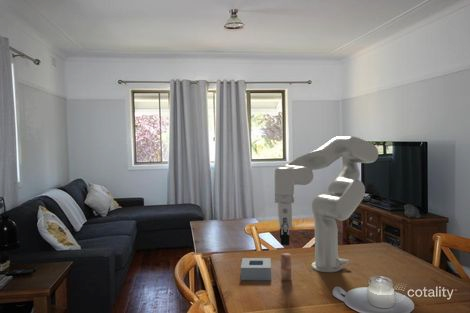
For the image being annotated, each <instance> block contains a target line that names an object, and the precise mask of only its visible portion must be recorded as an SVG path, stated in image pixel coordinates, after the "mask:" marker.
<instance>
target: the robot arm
mask: <svg viewBox="0 0 470 313" xmlns="http://www.w3.org/2000/svg"><path fill="white" fill-rule="evenodd" d="M378 157H379V150H378V148H377V146H376V145H375V144H373V143H372V142H369V141H367V140H364V139H362V138H360V137H356V136H352V135H349V136H348V135H343V136H341V135H339V136H334V137H332V138H331V139H330V140H328V141H327V142H325V143H324V144H322V145H320V147H318V148H317V149H315V150H312V151H310V152H308V153H306V154H303V155H300V156H297V157H296V158H294V159H292V160H291V161H289V162H288V163H286V164H285V165H284V166H283V167H281V166H279V167H276V168H275V170H274V203H276V204H277V219H278V220H277V221H278V227H279V239H280V245H281V246H290V234H289V233H290V231H289V229H291V230H292V229H293V212H292V211H293V207H292V204H294V203H295V185H297V186H306V185H309V184H310V183H312V181H313V180H314V173H313V171H316V170H323V169H325V168H327V167H330V166H331V165H332V164H333V163H334V162H336V161H337V160H338V159H340V158H341V160H342V167H341V169H340V171H339V172H338V174H337V175H336V176H335V177H334V179H332V180H331V182H330V184H329V185H328V188H327V193H328V194H318V195H316V196H315V197H313V199H312V202H311V209H312V214H313V220H314V221H313V222H314V223H313V224H314V261H313V262H312V263H311V268H312V269H313V270H314V271H317V272H319V273H320V272H322V273H337V272H339V271H341V270H342V265H350V260H349V259H346V258H340V257H339V252H338V250H339V249H338V248H339V247H338V244H339V242H338V240H339V238H338V224H337V221H346V220H348V219H349V218H350V217H351V215H353V213H354V212H355V210H356V209H357V208H358V207H359V205H360V204H361V203H362V201H363V199H364V197H365V192H366V186H365V185H364V183H363V181H361V180H359V179H360V177H361V176H360V175H361V174H360V173H361V172H360V170H359V166H358V164H371V163H374V162H376V161H377V159H378Z"/></svg>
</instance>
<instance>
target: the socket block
mask: <svg viewBox="0 0 470 313" xmlns="http://www.w3.org/2000/svg"><path fill="white" fill-rule="evenodd" d="M240 280H241V281H272V262H271V257H255V258H254V257H242V260H241V265H240Z"/></svg>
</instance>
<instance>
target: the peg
mask: <svg viewBox="0 0 470 313" xmlns="http://www.w3.org/2000/svg"><path fill="white" fill-rule="evenodd" d="M280 280H281V281H283V282H291V281H292V254H291V253H290V252H283V253H282V252H281V254H280Z"/></svg>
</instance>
